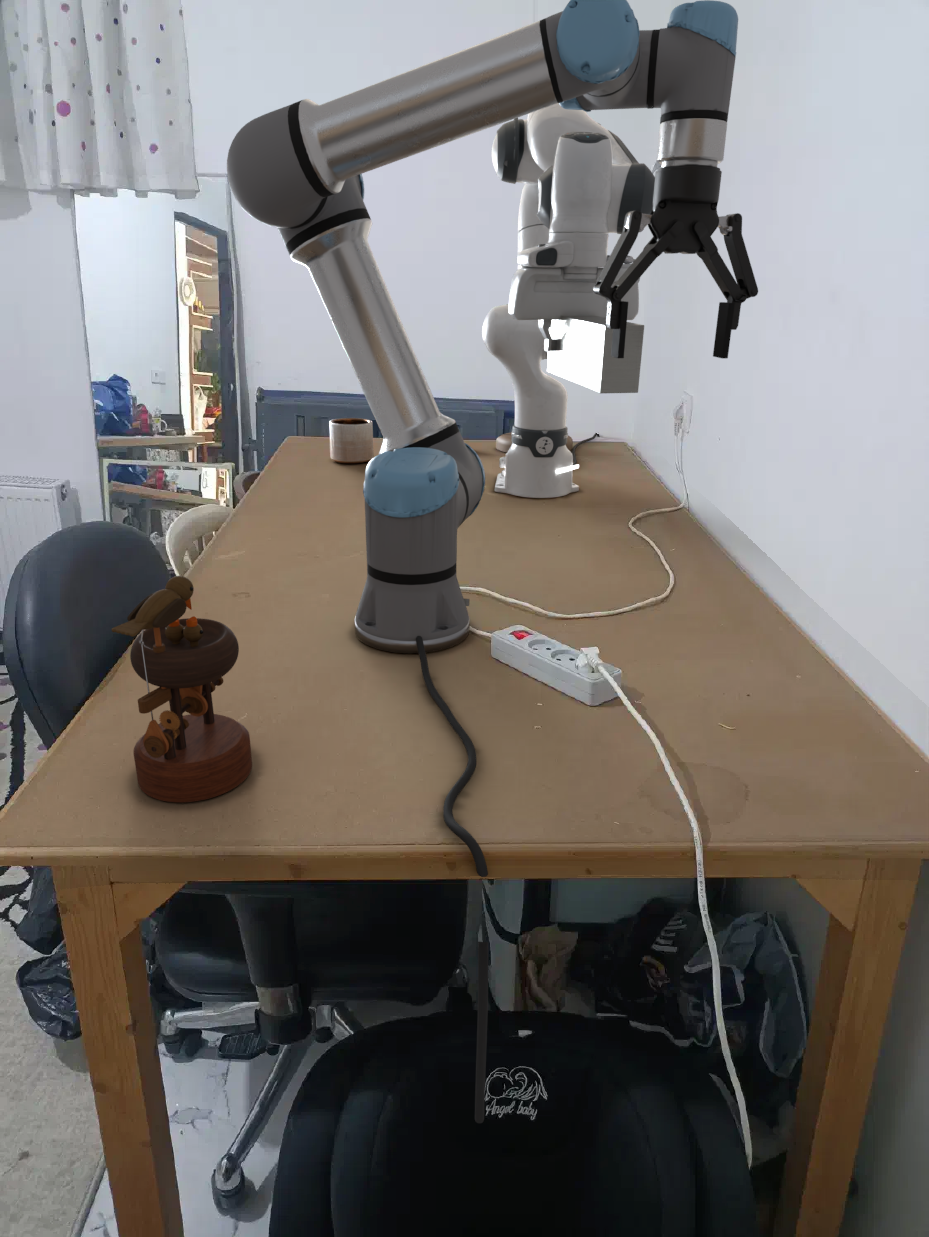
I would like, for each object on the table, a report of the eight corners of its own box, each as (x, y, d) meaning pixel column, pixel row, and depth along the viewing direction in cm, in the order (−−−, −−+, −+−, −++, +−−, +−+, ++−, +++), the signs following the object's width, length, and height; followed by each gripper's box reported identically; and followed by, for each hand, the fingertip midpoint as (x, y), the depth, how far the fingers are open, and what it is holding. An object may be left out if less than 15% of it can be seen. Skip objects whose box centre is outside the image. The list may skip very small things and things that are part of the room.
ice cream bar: (502, 464, 212) (503, 447, 210) (493, 443, 238) (494, 428, 236) (585, 464, 213) (587, 448, 211) (568, 443, 239) (569, 428, 237)
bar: (638, 392, 116) (644, 325, 113) (600, 393, 115) (605, 325, 112) (579, 371, 137) (583, 313, 134) (546, 371, 136) (550, 313, 132)
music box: (228, 817, 74) (184, 604, 66) (110, 816, 75) (54, 607, 68) (282, 730, 88) (250, 546, 80) (182, 730, 89) (142, 549, 82)
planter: (327, 456, 217) (325, 418, 214) (369, 454, 220) (368, 417, 217) (334, 465, 208) (332, 425, 204) (377, 463, 211) (376, 424, 207)
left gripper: (773, 173, 103) (748, 354, 111) (575, 166, 99) (564, 354, 107) (805, 166, 96) (776, 360, 104) (595, 158, 93) (581, 360, 101)
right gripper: (633, 255, 132) (625, 348, 137) (507, 253, 127) (503, 349, 133) (650, 256, 126) (641, 352, 132) (518, 253, 122) (515, 353, 127)
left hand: (669, 357), depth 106 cm, fingers open, 13 cm apart
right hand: (571, 350), depth 132 cm, fingers closed on bar, 5 cm apart
